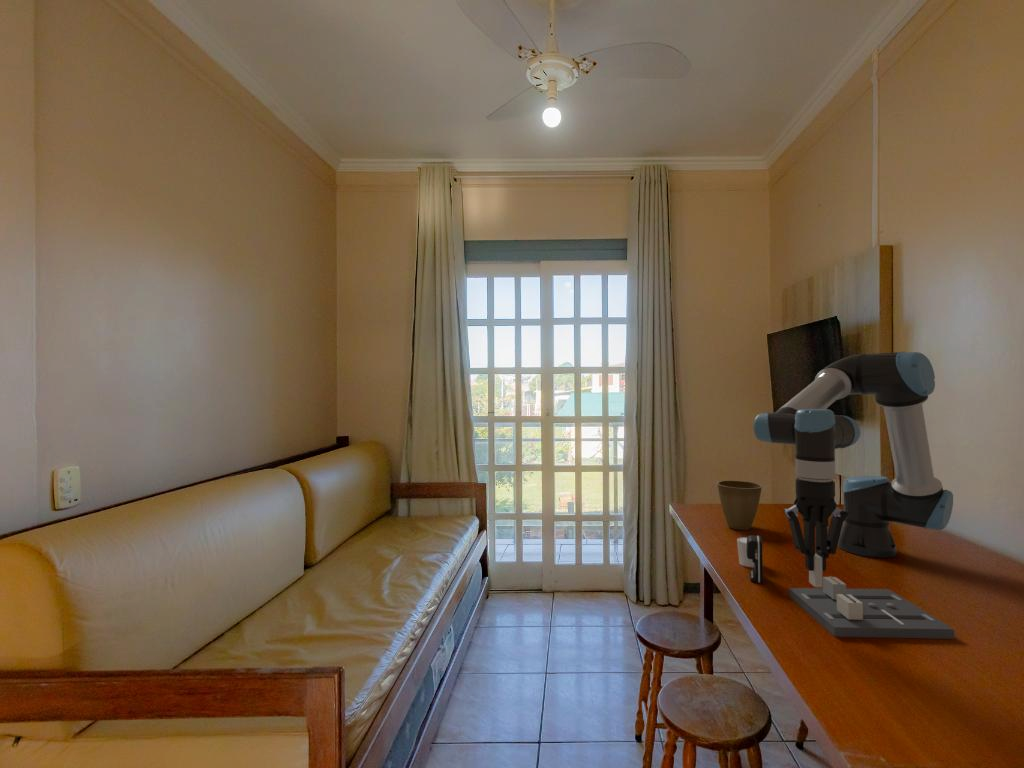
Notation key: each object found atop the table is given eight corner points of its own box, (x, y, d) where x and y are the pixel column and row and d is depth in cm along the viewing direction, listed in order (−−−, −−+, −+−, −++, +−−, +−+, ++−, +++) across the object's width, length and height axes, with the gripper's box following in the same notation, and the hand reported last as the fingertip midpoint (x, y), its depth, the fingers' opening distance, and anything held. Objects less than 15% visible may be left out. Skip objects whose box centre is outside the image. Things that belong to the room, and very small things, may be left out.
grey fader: (835, 591, 122) (835, 575, 122) (846, 599, 118) (846, 583, 118) (823, 591, 123) (822, 575, 123) (833, 599, 118) (833, 582, 118)
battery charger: (746, 573, 141) (746, 532, 141) (761, 574, 140) (761, 534, 140) (747, 582, 135) (746, 540, 135) (762, 584, 133) (762, 541, 133)
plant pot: (760, 535, 174) (759, 489, 174) (714, 529, 182) (713, 485, 182) (764, 524, 186) (763, 482, 186) (721, 519, 194) (721, 478, 194)
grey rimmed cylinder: (765, 568, 144) (765, 544, 144) (740, 567, 145) (739, 543, 145) (758, 560, 151) (758, 537, 151) (734, 559, 152) (734, 536, 152)
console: (888, 597, 124) (888, 586, 124) (954, 638, 104) (953, 626, 104) (788, 595, 126) (788, 585, 126) (834, 636, 106) (834, 624, 106)
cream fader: (850, 610, 113) (850, 593, 113) (862, 619, 108) (862, 601, 108) (836, 610, 113) (836, 592, 113) (848, 619, 108) (848, 601, 108)
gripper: (835, 475, 114) (836, 578, 114) (776, 475, 115) (777, 577, 115) (856, 482, 107) (856, 592, 107) (792, 481, 108) (793, 591, 108)
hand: (815, 584), depth 111 cm, fingers closed
